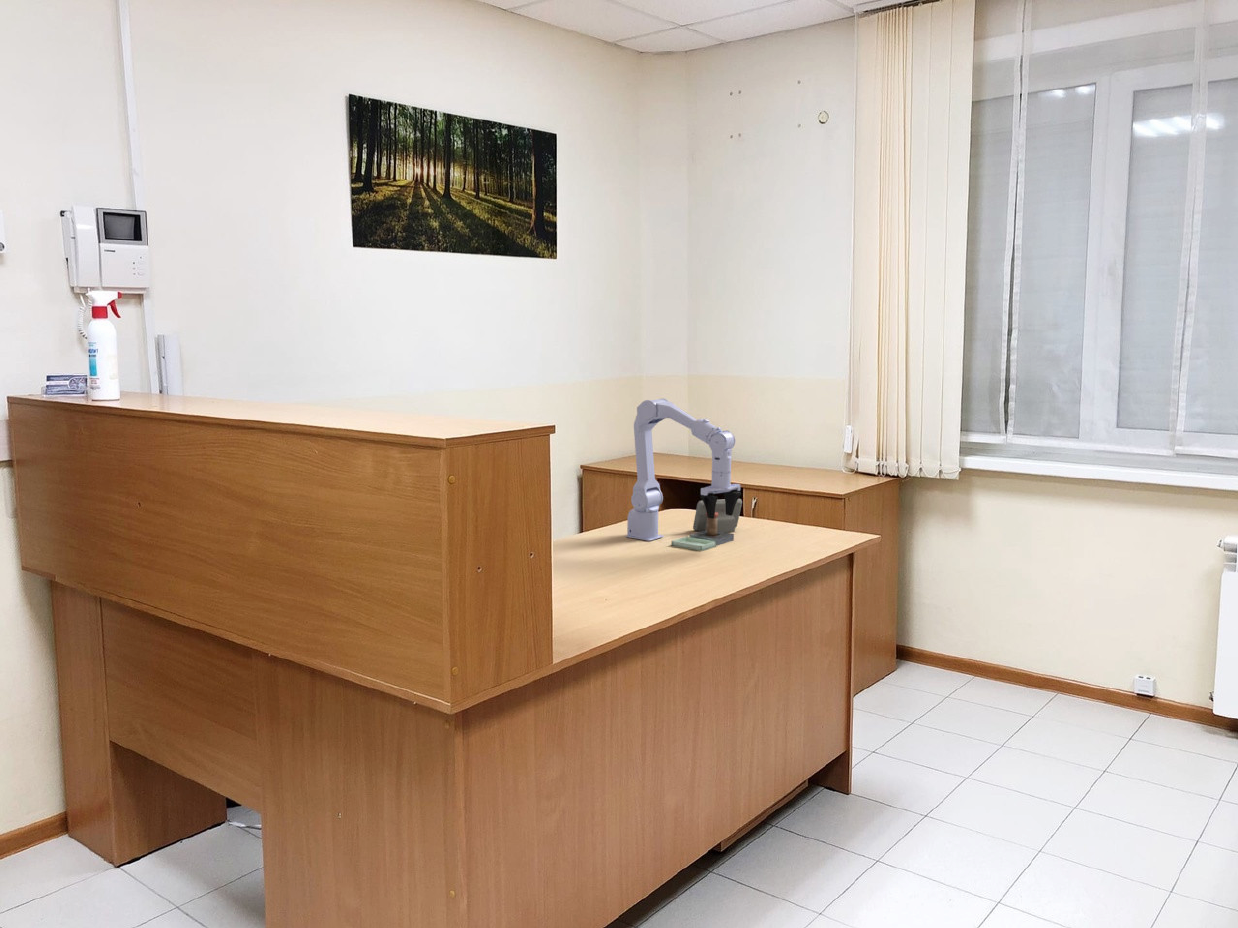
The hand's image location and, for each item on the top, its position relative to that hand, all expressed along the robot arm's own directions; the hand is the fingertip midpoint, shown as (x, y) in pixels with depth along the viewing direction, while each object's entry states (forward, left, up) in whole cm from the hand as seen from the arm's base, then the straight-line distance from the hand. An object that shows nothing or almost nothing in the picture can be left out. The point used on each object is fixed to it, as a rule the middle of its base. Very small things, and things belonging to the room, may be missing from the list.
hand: (720, 516), depth 297 cm
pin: (-8, +8, -10) cm, 15 cm away
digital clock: (-15, +22, -10) cm, 29 cm away
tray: (-8, -2, -10) cm, 13 cm away
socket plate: (-8, +8, -10) cm, 15 cm away
